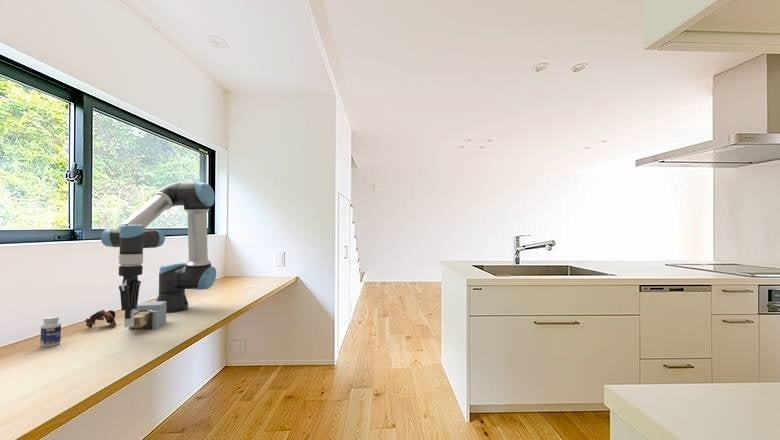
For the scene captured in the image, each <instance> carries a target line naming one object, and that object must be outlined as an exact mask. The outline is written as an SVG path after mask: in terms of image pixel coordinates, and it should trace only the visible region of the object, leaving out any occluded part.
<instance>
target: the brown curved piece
mask: <svg viewBox="0 0 780 440" xmlns="http://www.w3.org/2000/svg"><path fill="white" fill-rule="evenodd" d="M115 318H116V311H114V310H107V311H105V309H101V310H99V311H97V312H95V313H94V314H92V315H90V316H89V317H88V318H86V319H85V320H84V321H85V323H86V325H85V327H88V328H89V329H91V328H92V327H93V326H95V325H96V321H104V320H106V324H108V325H109V326H110V329H114V328H115V327H116V326H117V322H116V320H115Z"/></svg>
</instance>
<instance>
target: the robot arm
mask: <svg viewBox="0 0 780 440" xmlns="http://www.w3.org/2000/svg"><path fill="white" fill-rule="evenodd" d="M215 197H216V196H215V192H214V190H213V188H212V186H211V185H210V184H209V183H206V182H200V181H197V182H188V181H187V182H184V181H183V182H182V181H179V182H178V181H177V182H173V183H170V184H168V185H165V186H164V187H162V188H159V190H157V191H155V192H154V194H152V196H151V199H150V200H149V201H147V202H146V203H145V204H143V205H142V206H140V208H139V209H138V210H136V211H134V213H132V214H131V215H130V216H129V217H128V218H126V219H125V220H124V221H123V222H122V223H120V224H119V225H118V226H117V227H115V228H113V227H112V228H105V229H104V230H103V231H102V233H101V234H100V235H101V236H100V240H101V243H102V244H103V246H105V247H110V248H119V255H118V257H117V258H118V260H119V261H118V264H119V266H118V276H120V277H123V278H122V284H121V285H119V286H118V290H119V295H120V296H119V297H120V305H121V311H124V317H123V318H124V320H123V321H124V322H123V324H124V325H123V328H129V327H133V326H134V309H137V307H135V306H137V304H138V303H139V302H138V301H139V295H140V289H141V288H140V286H141V283H142V281H141V280H139V278H138V276H141V275H143V265H142V264H143V263H144V249H151V248H153V249H155V248H159V247H162V245H164V243H165V240H166V236H165V233H164V232H163V231H161V230H160V229H154V228H153V229H146V228H147V227H148V226H149V225H150V224H151V223H153V222H154V221H155V220H156V219H157V218H158V217H160V215H161V214H163V212H165V211H166V210H167V211H168V210H170V209H171V208H173V207H177V206H182V207H183V211H185V212H186V214H187V239H188V240H187V241H188V242H187V244H188V261H186V262H179V263H171V264H165V265H162V266H160V267H159V272H158V296H157V298H156V301H167V307H166V313H176V312H180V311H181V312H182V311H186V310H188V309H189V300H188V298H187V296H186V290H198V291H199V290H200V291H202V290H209V289H210V288H212V287H213V285H214V283H215V281H216V278H217V269H216V267H214V266H212V262H211V260H209V256H208V251H209V249H208V219H207V218H208V217H207V216H208V214H207V213H208V212H209V211H210V209H211V208H210V207H212V206H213V205H214V204H215V201H216V200H215V199H216V198H215ZM156 301H155V302H156Z"/></svg>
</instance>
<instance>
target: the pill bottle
mask: <svg viewBox="0 0 780 440" xmlns="http://www.w3.org/2000/svg"><path fill="white" fill-rule="evenodd" d="M59 317H60V316H58V315H52V316H46V317H43V323H42V325H40V338H39V339H40V341H39V342H40V343H39V345H40V347H43V348H44V347H45V348H47V347H54V346H57V345H59V344H61V340H62V339H61V337H62V336H61V335H62V334H61V333H62V323H61V322H60V318H59Z"/></svg>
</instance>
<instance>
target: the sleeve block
mask: <svg viewBox="0 0 780 440" xmlns="http://www.w3.org/2000/svg"><path fill="white" fill-rule="evenodd" d="M135 307H137V309H134V315H136V314H138V313H139V312H141V311H151V312H149V323H147V324H145V325H144V326H142V327H141V328H129V327H128V330H131V331H137V330H139V331H141V330H156V329H158V328H159V327H161V326H162V325H163V324H164V323H166V322H167V312H166V307H167V301H141V302H138V303H137V306H135Z"/></svg>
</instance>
